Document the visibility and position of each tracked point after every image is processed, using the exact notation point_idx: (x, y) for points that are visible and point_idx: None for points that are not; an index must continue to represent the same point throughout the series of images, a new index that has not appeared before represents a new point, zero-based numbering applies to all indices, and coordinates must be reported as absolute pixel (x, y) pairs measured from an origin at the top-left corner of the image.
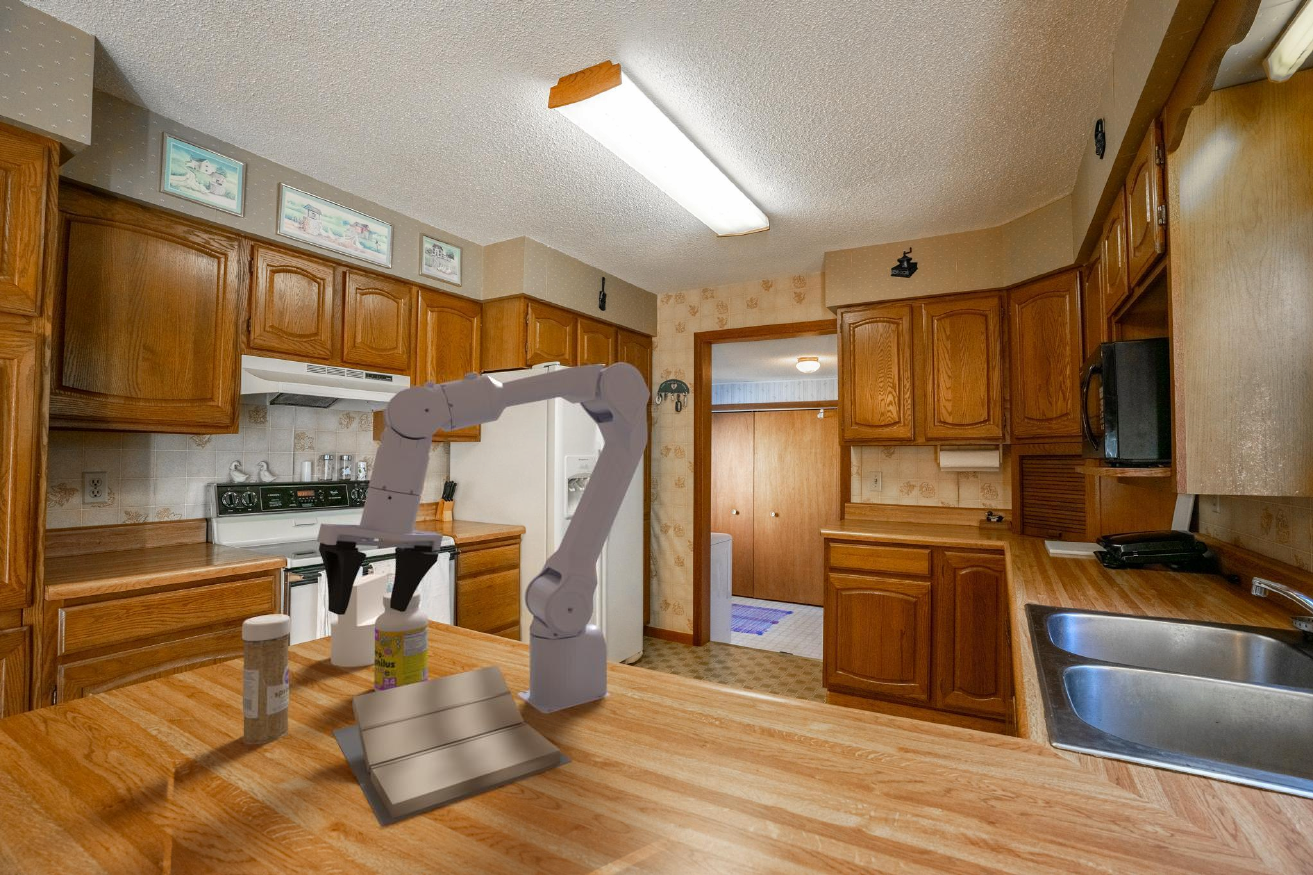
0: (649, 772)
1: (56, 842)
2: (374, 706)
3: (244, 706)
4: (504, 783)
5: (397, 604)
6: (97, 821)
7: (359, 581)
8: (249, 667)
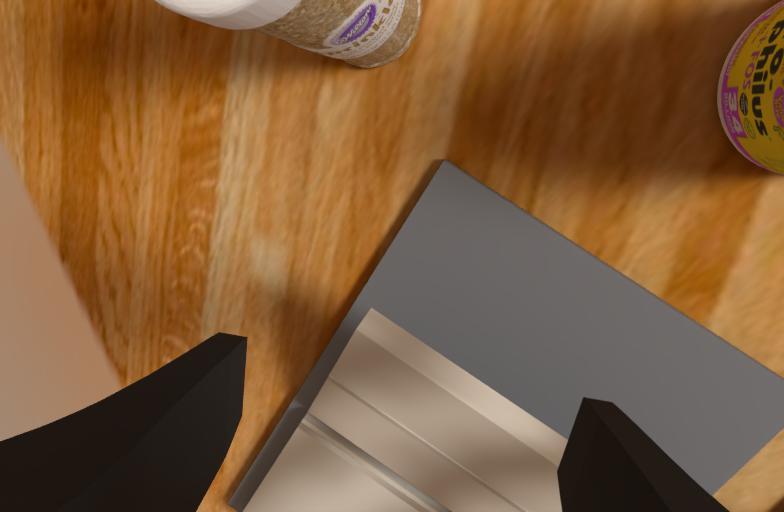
0: None
1: (8, 54)
2: (380, 374)
3: None
4: None
5: (576, 462)
6: (56, 44)
7: None
8: None
